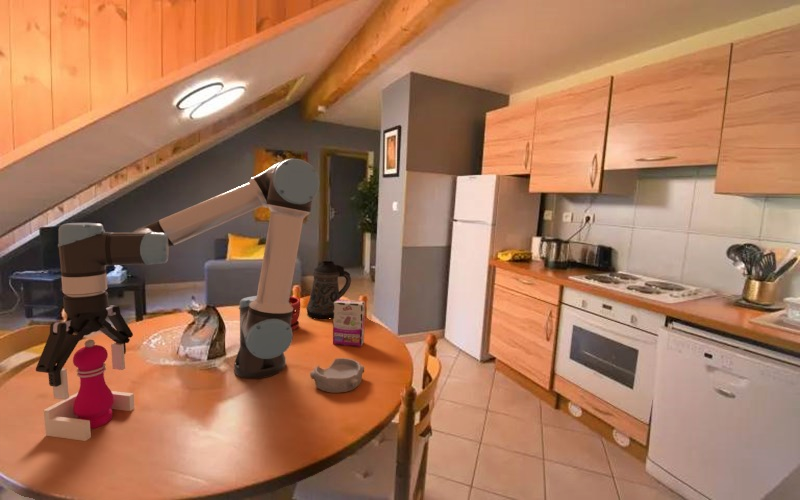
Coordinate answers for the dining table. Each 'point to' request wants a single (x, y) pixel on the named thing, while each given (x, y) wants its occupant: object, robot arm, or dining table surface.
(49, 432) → the bracket
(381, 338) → the dining table surface
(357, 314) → the candy bar box
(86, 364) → the pepper mill
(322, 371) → the dish
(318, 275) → the beer stein
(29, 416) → the dining table surface
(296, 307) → the plant pot
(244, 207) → the robot arm
